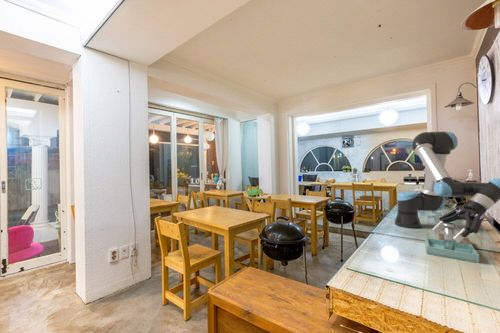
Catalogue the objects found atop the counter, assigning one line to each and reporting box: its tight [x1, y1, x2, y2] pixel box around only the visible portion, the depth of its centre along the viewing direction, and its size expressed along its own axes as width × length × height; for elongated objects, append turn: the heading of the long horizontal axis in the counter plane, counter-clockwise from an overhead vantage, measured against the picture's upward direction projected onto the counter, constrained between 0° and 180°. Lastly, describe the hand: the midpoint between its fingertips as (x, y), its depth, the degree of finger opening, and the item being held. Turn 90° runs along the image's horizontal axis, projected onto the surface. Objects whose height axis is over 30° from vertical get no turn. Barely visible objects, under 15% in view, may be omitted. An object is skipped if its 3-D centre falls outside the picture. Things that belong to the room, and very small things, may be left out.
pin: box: [442, 222, 458, 251], centre depth 111 cm, size 6×6×13 cm
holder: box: [438, 232, 474, 247], centre depth 123 cm, size 12×12×3 cm
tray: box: [424, 237, 480, 264], centre depth 111 cm, size 18×16×4 cm
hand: (444, 235), depth 111 cm, fingers open, 13 cm apart
